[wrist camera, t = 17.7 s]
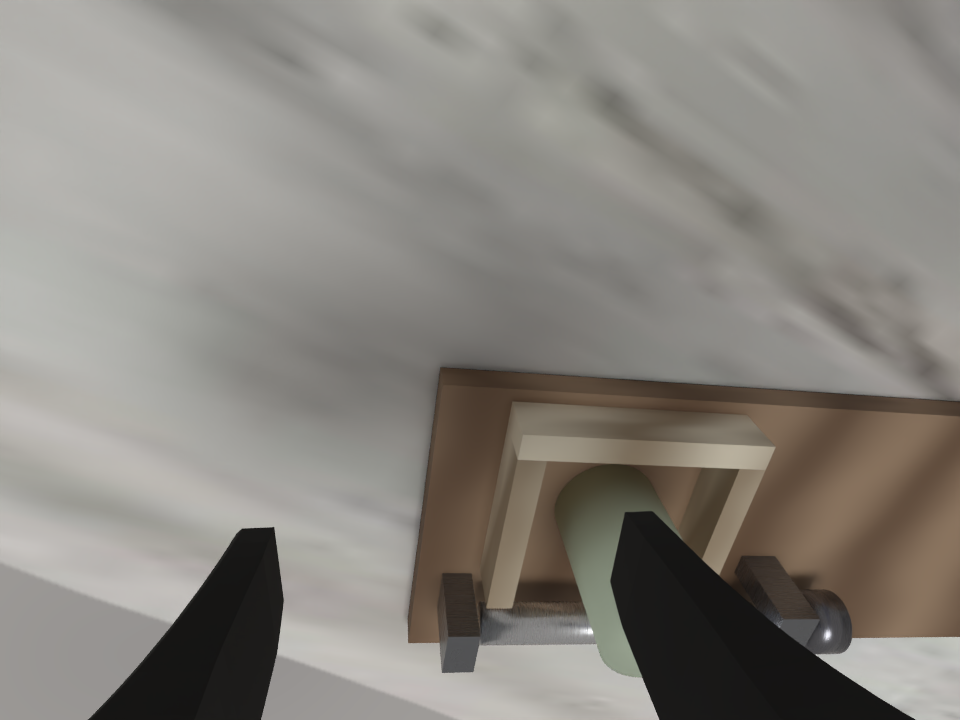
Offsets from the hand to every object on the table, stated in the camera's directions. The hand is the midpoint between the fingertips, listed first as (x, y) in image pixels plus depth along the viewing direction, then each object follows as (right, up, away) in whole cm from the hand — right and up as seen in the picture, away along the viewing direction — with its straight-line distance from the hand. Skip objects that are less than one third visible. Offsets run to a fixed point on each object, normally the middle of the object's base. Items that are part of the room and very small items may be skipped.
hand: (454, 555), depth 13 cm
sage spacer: (+5, -2, +12) cm, 13 cm away
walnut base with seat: (+12, -3, +15) cm, 19 cm away
